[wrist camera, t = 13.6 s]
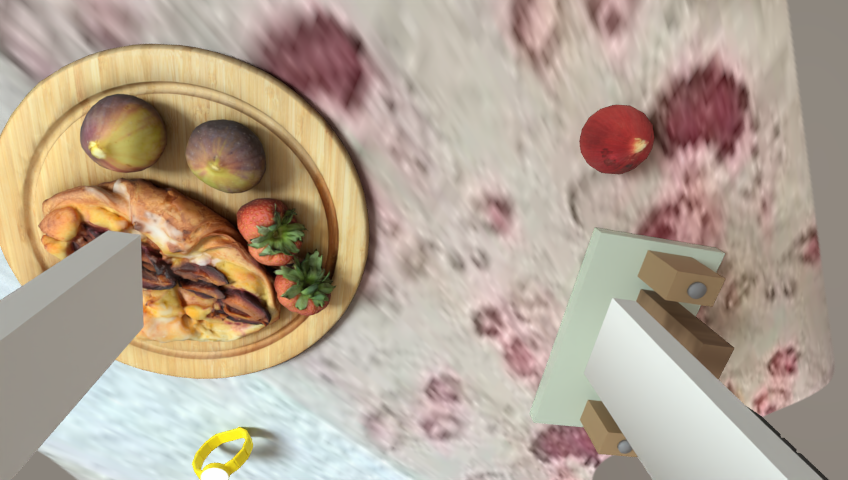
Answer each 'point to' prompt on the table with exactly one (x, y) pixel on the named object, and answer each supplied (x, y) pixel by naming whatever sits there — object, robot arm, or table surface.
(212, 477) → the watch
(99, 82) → the wooden plate with food
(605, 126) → the onion
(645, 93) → the table surface
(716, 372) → the wooden frame
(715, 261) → the wall board
